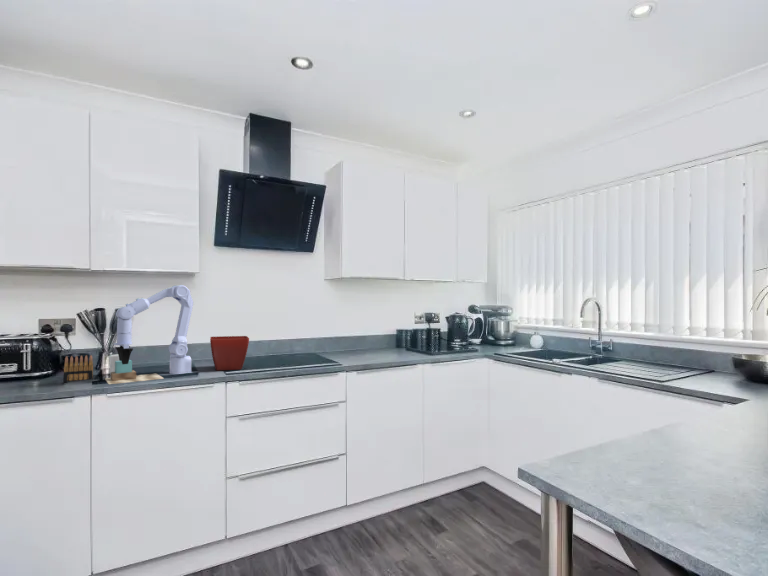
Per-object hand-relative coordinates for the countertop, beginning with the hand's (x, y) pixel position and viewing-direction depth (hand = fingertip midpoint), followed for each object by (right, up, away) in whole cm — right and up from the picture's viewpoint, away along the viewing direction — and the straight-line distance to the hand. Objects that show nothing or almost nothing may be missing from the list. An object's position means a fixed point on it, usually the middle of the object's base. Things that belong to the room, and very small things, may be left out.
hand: (123, 363), depth 186 cm
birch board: (+5, -8, 0) cm, 9 cm away
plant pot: (+35, -10, +35) cm, 50 cm away
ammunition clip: (-18, -8, -3) cm, 20 cm away
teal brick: (0, -4, 0) cm, 4 cm away
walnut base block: (0, -7, 0) cm, 7 cm away
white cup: (-11, -9, +13) cm, 19 cm away
